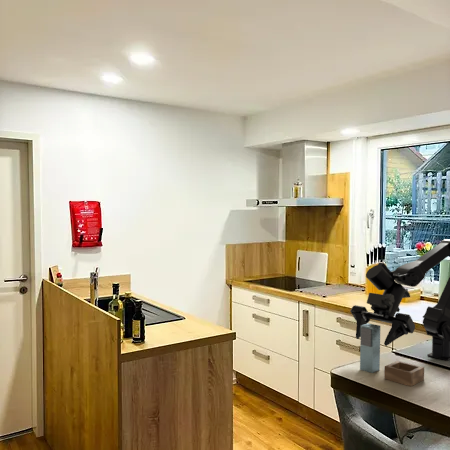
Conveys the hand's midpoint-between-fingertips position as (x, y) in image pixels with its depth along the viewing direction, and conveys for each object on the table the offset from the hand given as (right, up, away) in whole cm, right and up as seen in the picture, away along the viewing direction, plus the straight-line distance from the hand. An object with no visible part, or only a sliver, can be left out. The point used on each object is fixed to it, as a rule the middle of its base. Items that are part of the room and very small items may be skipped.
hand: (370, 341), depth 136 cm
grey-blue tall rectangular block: (0, -8, 0) cm, 8 cm away
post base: (+7, -8, -8) cm, 13 cm away
